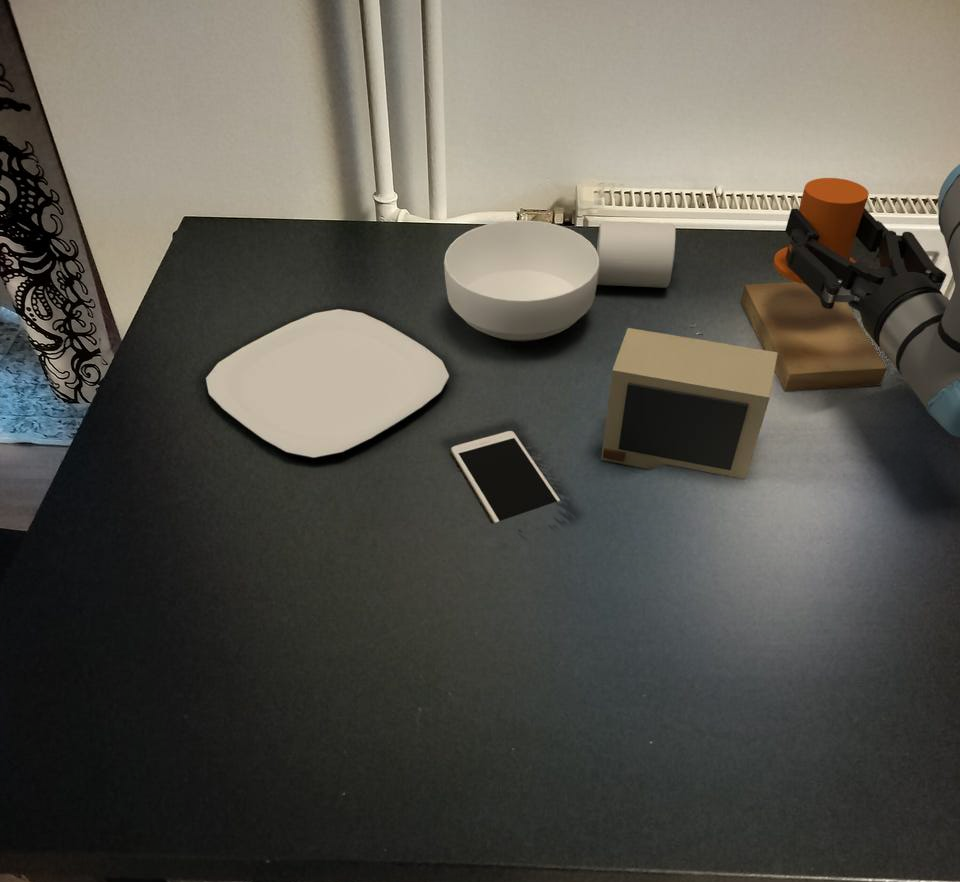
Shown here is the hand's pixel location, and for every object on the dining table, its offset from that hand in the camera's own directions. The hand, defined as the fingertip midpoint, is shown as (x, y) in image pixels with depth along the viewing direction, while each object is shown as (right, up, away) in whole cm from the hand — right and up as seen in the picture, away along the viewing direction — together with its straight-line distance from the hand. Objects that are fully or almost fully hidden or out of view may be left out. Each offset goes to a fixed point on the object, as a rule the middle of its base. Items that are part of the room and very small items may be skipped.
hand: (822, 217), depth 107 cm
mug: (-20, 0, +18) cm, 27 cm away
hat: (0, -5, +3) cm, 6 cm away
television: (-19, -29, -5) cm, 35 cm away
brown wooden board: (+1, -12, +8) cm, 15 cm away
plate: (-60, -20, +3) cm, 63 cm away
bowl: (-36, -8, +12) cm, 39 cm away
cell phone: (-38, -34, -9) cm, 52 cm away
